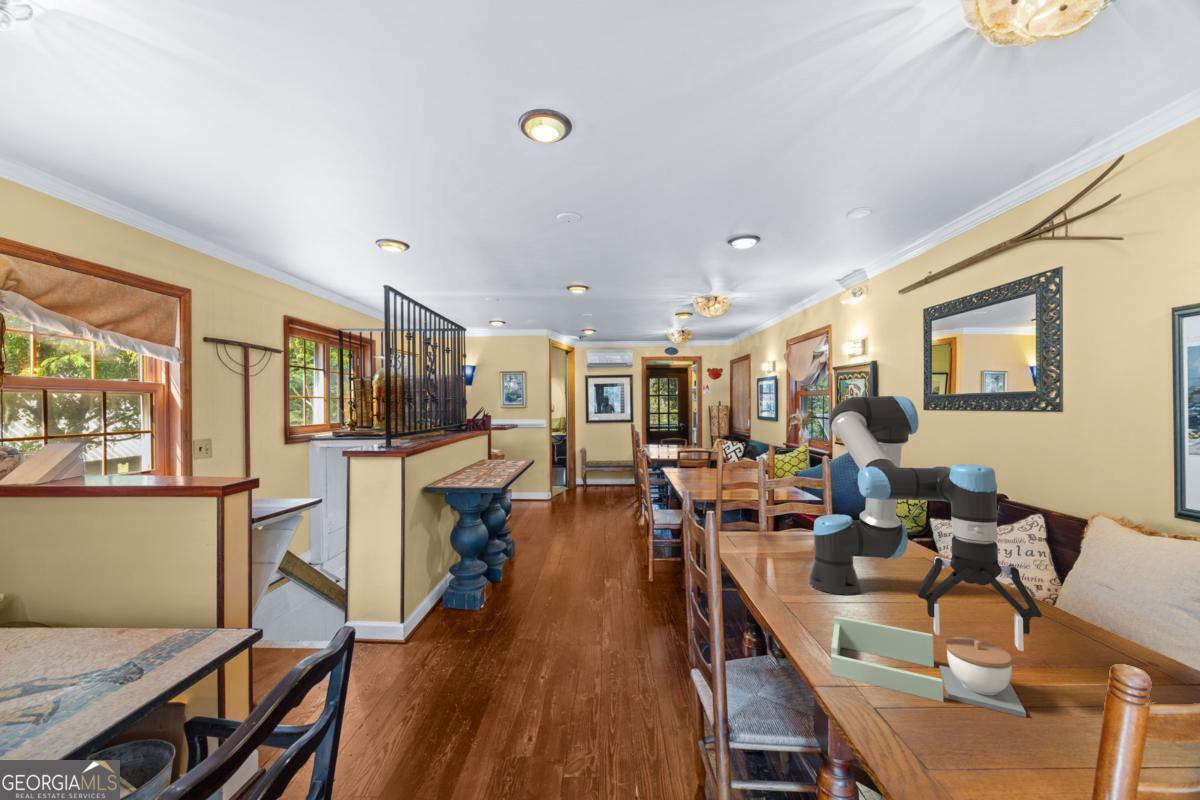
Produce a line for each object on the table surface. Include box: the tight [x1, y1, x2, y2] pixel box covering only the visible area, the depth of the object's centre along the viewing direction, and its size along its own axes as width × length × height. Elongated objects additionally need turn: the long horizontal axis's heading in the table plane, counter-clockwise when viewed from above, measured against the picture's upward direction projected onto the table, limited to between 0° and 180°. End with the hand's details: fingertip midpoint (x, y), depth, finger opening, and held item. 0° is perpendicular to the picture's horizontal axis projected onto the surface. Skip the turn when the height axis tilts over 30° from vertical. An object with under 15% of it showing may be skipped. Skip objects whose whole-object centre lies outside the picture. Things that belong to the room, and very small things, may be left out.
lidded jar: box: [945, 636, 1013, 696], centre depth 96 cm, size 11×11×9 cm
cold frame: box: [830, 615, 944, 703], centre depth 104 cm, size 16×20×7 cm
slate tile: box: [938, 665, 1027, 718], centre depth 96 cm, size 12×12×1 cm
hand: (976, 640), depth 96 cm, fingers open, 13 cm apart
